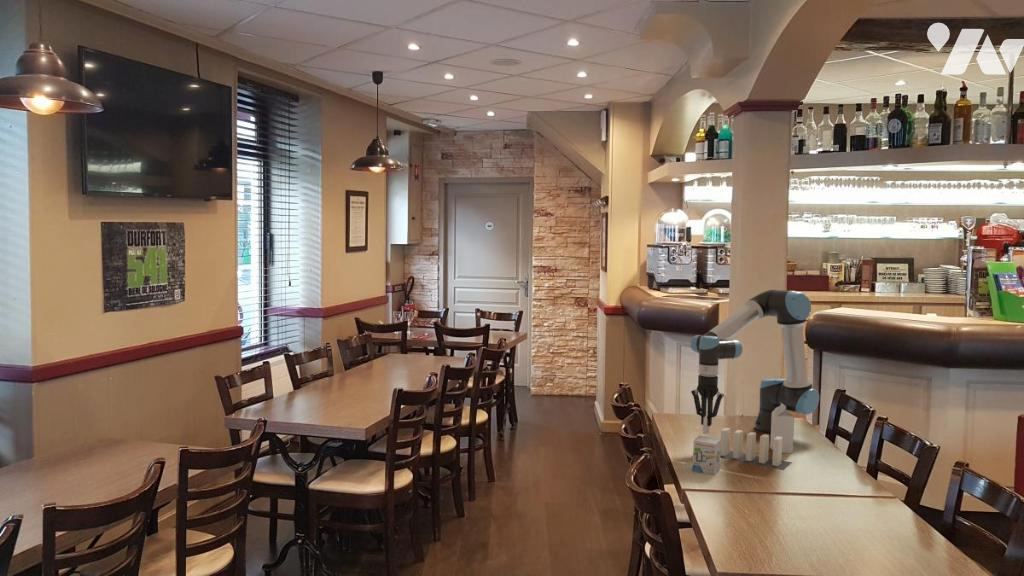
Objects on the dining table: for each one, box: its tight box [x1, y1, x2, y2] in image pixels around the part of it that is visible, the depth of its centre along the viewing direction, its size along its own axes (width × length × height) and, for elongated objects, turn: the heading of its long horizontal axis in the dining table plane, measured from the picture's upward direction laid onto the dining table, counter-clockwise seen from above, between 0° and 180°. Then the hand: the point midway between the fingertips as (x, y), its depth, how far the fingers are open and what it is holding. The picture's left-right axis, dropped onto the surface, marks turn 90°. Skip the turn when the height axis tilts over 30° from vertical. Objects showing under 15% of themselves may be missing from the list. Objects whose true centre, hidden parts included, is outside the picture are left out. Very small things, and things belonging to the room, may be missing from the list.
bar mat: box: [720, 450, 793, 471], centre depth 280 cm, size 12×28×1 cm, turn 55°
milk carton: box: [769, 403, 795, 454], centre depth 293 cm, size 7×7×19 cm
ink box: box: [691, 435, 721, 476], centre depth 266 cm, size 8×8×12 cm
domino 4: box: [772, 436, 783, 466], centre depth 274 cm, size 5×2×10 cm, turn 144°
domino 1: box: [732, 429, 744, 459], centre depth 283 cm, size 5×2×10 cm, turn 145°
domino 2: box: [745, 431, 757, 461], centre depth 280 cm, size 5×2×10 cm, turn 145°
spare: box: [720, 427, 731, 456], centre depth 286 cm, size 5×2×10 cm, turn 145°
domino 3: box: [758, 433, 770, 463], centre depth 277 cm, size 5×2×10 cm, turn 145°
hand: (705, 433), depth 290 cm, fingers closed
